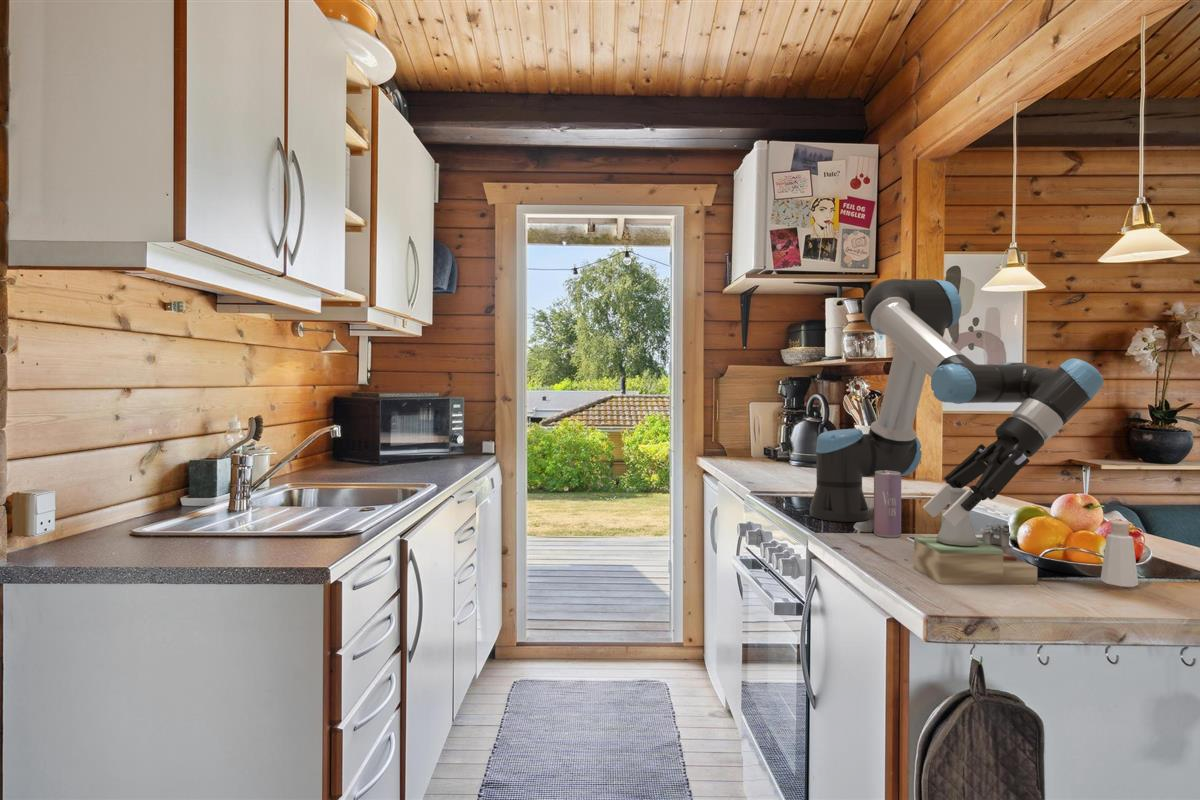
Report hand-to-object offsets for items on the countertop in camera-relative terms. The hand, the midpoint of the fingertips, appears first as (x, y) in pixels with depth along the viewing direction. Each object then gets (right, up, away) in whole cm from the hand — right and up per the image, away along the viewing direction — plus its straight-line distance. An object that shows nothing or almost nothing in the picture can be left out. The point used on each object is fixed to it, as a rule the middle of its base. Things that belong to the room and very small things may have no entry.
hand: (938, 516), depth 129 cm
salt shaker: (+30, -11, -5) cm, 32 cm away
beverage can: (+5, -11, +35) cm, 37 cm away
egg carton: (+29, -11, +28) cm, 41 cm away
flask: (+4, -5, 0) cm, 6 cm away
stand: (+7, -11, 0) cm, 13 cm away
